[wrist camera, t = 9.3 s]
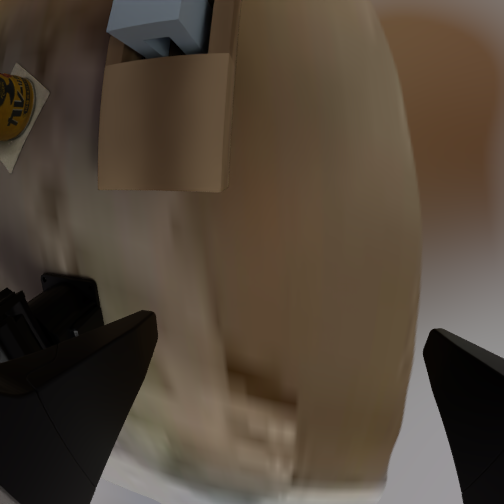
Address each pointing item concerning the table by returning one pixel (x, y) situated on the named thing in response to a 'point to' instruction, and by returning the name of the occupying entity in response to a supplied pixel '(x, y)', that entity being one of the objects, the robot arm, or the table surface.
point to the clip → (161, 25)
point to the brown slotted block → (170, 114)
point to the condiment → (18, 111)
